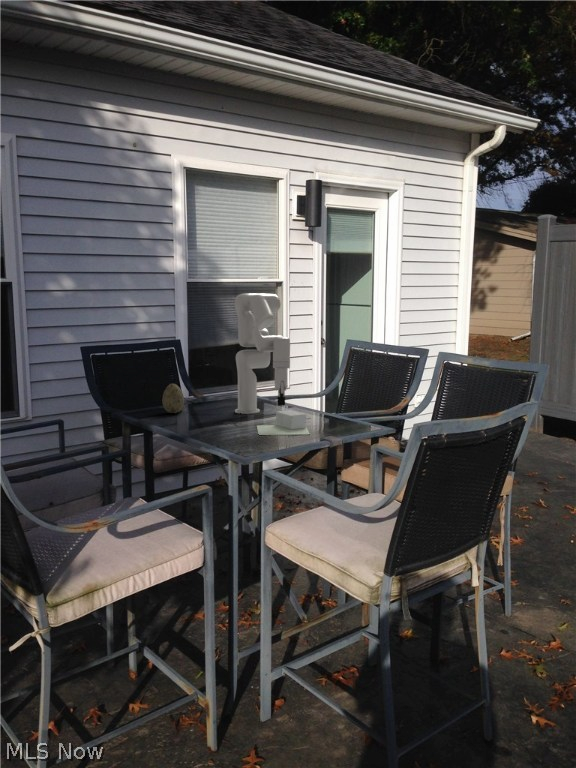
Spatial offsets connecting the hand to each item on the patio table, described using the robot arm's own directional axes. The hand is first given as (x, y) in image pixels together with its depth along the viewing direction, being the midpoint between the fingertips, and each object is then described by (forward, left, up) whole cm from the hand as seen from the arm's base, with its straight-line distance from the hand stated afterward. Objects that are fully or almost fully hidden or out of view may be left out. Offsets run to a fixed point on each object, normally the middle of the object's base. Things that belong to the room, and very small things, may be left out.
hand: (281, 405), depth 304 cm
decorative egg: (-39, -51, -10) cm, 65 cm away
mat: (+7, 0, -10) cm, 12 cm away
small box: (-6, +1, -7) cm, 9 cm away
